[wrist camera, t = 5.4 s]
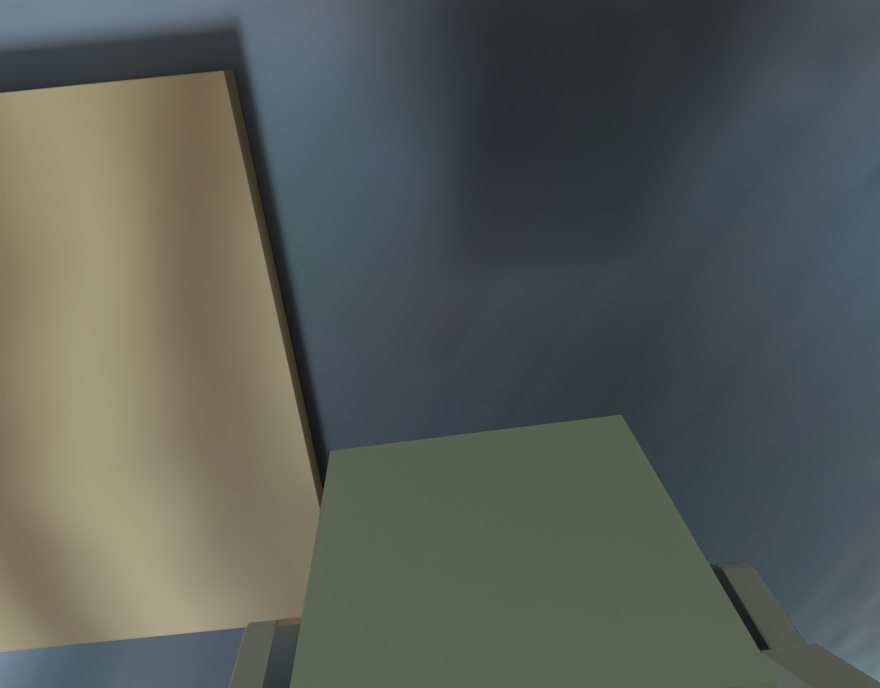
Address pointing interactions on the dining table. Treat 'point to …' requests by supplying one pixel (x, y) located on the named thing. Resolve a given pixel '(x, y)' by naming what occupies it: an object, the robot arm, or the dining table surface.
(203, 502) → the tan square board
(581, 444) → the sage block
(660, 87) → the dining table surface
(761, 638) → the robot arm
